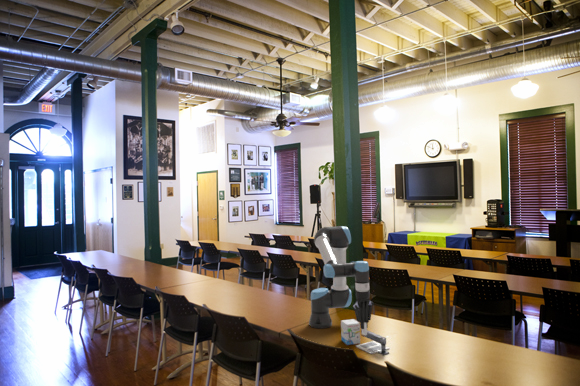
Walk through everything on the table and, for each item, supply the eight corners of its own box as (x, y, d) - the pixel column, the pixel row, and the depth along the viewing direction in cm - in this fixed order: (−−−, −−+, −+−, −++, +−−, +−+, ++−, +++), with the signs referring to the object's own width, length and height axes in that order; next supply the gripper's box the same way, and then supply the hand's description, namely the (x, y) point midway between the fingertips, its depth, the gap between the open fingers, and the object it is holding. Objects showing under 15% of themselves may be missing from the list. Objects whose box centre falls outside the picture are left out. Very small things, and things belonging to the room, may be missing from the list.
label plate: (355, 346, 216) (355, 345, 216) (373, 341, 222) (373, 340, 222) (371, 354, 204) (371, 353, 204) (389, 349, 211) (389, 347, 211)
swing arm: (387, 344, 205) (387, 338, 205) (383, 345, 203) (382, 339, 204) (365, 334, 221) (364, 328, 221) (360, 335, 220) (360, 329, 220)
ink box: (347, 345, 218) (346, 324, 219) (341, 340, 227) (340, 320, 227) (360, 343, 221) (360, 322, 221) (354, 338, 229) (353, 318, 229)
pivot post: (378, 352, 206) (377, 343, 206) (383, 351, 208) (383, 342, 208) (383, 355, 203) (383, 346, 203) (389, 353, 205) (388, 344, 205)
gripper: (357, 293, 202) (359, 338, 202) (376, 289, 209) (378, 334, 208) (348, 290, 209) (350, 334, 208) (367, 287, 215) (369, 330, 214)
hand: (364, 334), depth 208 cm, fingers closed
